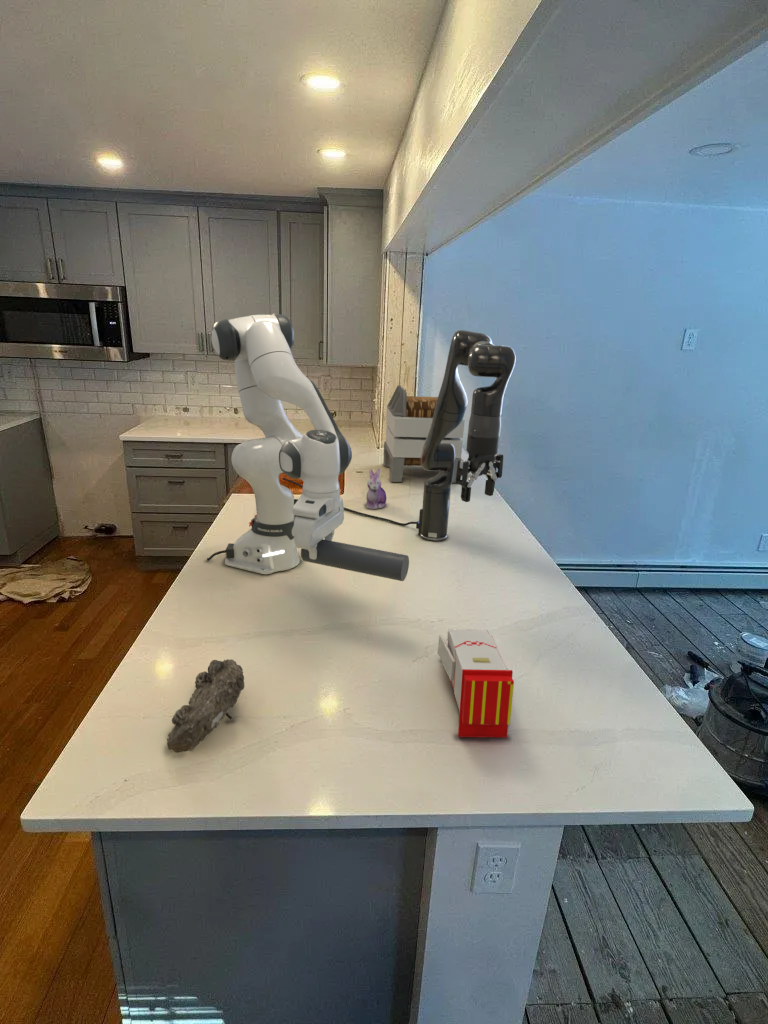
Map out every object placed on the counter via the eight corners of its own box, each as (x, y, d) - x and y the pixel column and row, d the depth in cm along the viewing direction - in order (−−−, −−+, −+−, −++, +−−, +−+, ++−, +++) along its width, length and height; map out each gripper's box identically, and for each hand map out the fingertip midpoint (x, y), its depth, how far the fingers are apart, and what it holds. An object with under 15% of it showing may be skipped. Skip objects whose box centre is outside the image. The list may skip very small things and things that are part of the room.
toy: (488, 613, 130) (523, 677, 101) (484, 667, 133) (517, 744, 104) (435, 612, 130) (455, 676, 101) (432, 666, 133) (451, 743, 103)
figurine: (370, 511, 220) (372, 474, 215) (359, 503, 229) (360, 467, 224) (392, 508, 224) (394, 471, 219) (380, 500, 233) (381, 465, 228)
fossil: (192, 660, 117) (244, 628, 112) (224, 691, 120) (276, 661, 115) (142, 746, 98) (202, 712, 93) (182, 779, 101) (242, 748, 96)
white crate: (382, 463, 289) (386, 382, 275) (445, 464, 293) (451, 384, 279) (390, 482, 257) (394, 392, 243) (460, 483, 261) (468, 394, 247)
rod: (408, 574, 137) (409, 551, 135) (400, 585, 131) (401, 561, 129) (312, 555, 145) (312, 533, 143) (300, 564, 139) (300, 541, 137)
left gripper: (327, 485, 145) (327, 535, 150) (288, 510, 127) (289, 566, 132) (350, 489, 143) (349, 539, 148) (313, 514, 125) (313, 571, 130)
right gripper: (491, 427, 141) (484, 489, 146) (451, 433, 132) (445, 498, 138) (515, 433, 135) (507, 497, 141) (475, 439, 127) (468, 507, 132)
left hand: (320, 552), depth 140 cm, fingers closed on rod, 6 cm apart
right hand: (477, 498), depth 139 cm, fingers open, 8 cm apart
